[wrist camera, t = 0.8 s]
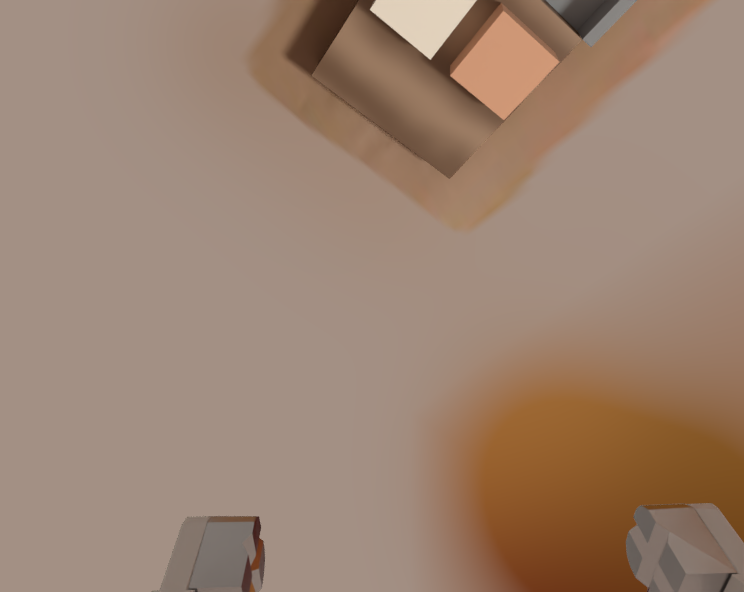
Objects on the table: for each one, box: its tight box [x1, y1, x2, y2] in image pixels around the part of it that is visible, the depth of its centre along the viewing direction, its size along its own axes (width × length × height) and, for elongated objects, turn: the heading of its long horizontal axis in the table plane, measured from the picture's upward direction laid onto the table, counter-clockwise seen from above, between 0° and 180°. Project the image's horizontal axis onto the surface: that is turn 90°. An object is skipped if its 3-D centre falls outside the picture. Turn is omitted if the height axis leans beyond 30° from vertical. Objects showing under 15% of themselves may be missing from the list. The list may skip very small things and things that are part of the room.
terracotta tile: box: [450, 3, 559, 120], centre depth 43 cm, size 6×6×2 cm
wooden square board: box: [312, 0, 582, 179], centre depth 46 cm, size 16×16×3 cm
